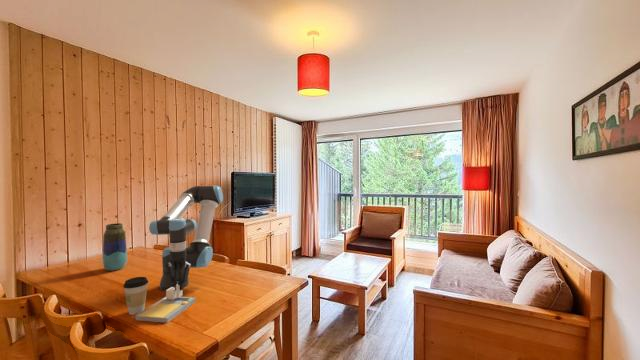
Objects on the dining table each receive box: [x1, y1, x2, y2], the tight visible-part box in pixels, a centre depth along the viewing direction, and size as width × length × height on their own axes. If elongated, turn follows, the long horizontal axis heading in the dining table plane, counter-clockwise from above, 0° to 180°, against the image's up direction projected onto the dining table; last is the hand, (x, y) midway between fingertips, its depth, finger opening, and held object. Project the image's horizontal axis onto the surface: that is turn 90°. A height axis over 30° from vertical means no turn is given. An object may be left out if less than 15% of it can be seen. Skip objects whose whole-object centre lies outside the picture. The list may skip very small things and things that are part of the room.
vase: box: [101, 222, 128, 272], centre depth 189 cm, size 14×14×31 cm
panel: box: [134, 296, 197, 324], centre depth 129 cm, size 16×20×2 cm
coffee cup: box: [123, 276, 149, 316], centre depth 129 cm, size 10×10×15 cm
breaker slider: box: [165, 287, 177, 300], centre depth 137 cm, size 4×4×5 cm
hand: (179, 296), depth 137 cm, fingers closed
